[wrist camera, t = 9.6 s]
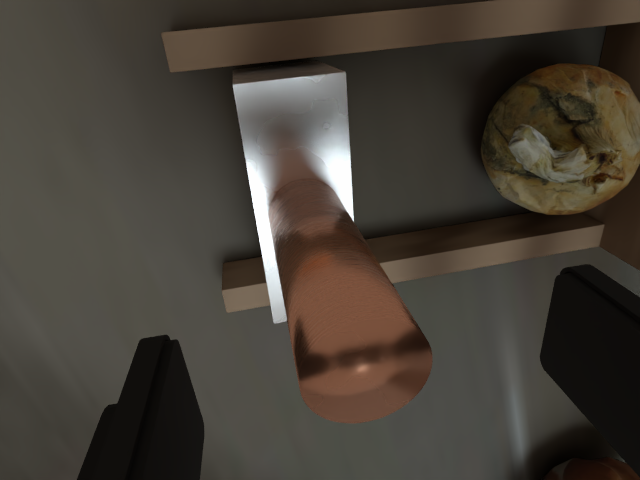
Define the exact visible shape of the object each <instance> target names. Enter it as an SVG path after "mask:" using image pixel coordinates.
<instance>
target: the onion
mask: <svg viewBox="0 0 640 480" xmlns="http://www.w3.org/2000/svg"><path fill="white" fill-rule="evenodd" d="M481 156H482V160H483V164H484V166H485V169H486V171H487V175H488V176H489V178H490V180H491V182H492V184H493V185H494V187H495V188H496V190H497V191H498V192H499V193H500V194H501V195H502V196H503V197H504V198H506V199H508V200H510V201H512V202H514V203H516V204H518V205H520V206H522V207H524V208H526V209H528V210H531V211H534V212H538V213H544V214H547V215H571V214H575V213H580V212H584V211H587V210H589V209H592V208H594V207H596V206H598V205H599V204H601V203H603V202H605V201H607V200H609V199H611V198H612V197H614V196H615V195H616V194H617V193H618V192H619V191H621V190H622V189H623V188H625V187H626V186H627V185H628V184H629V182H630V180H631V179H632V178H633V176H634V174H635V172H636V170H637V168H638V166H639V165H640V103H639V101H638V99H637V97H636V96H635V94H634V93H633V91H632V90H631V88H630V85H629V83H628V82H626V81H625V80H624V79H622V78H621V77H619V76H618V75H616V74H614V73H612V72H610V71H608V70H605V69H602V68H600V67H596V66H593V65H586V64H582V65H577V64H570V63H568V64H556V65H551V66H547V67H544V68H540V69H537V70H536V71H534V72H532V73H531V74H529V75H527V76H525V77H523V78H521V79H519V80H518V81H517V82H516V83H515V84H513V85H512V86H511V87H510V88H509V89H508V90H507V91H506V92H505V93H504V94H503V95H502V96H501V97H500V98H499V100H498V101H497V103H496V104H495V105H494V107H493V109H492V110H491V112H490V114H489V116H488V119H487V123H486V126H485V130H484V134H483V137H482V143H481Z"/></svg>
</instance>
